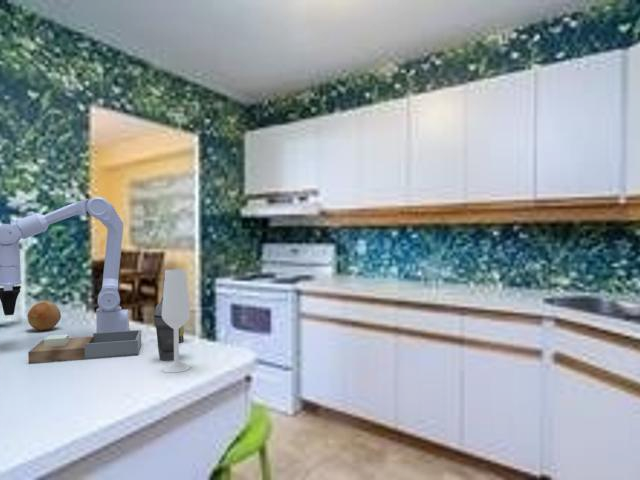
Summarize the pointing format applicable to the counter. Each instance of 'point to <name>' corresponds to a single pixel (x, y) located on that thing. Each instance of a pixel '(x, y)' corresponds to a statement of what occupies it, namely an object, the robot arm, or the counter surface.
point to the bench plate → (59, 351)
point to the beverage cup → (164, 335)
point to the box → (113, 344)
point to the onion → (44, 315)
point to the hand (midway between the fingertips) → (9, 313)
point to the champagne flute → (175, 311)
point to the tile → (56, 340)
